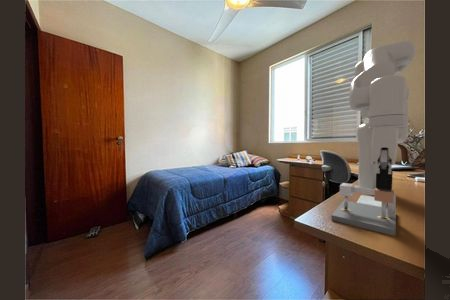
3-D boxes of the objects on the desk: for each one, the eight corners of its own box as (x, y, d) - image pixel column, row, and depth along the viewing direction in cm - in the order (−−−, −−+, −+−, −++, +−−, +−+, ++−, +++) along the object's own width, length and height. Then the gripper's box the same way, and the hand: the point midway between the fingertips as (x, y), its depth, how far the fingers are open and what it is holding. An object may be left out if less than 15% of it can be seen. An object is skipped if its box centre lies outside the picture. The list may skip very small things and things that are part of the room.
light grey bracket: (342, 206, 61) (342, 182, 61) (395, 216, 52) (395, 189, 52) (339, 210, 58) (339, 185, 57) (395, 222, 49) (395, 192, 48)
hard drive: (360, 194, 75) (356, 202, 66) (387, 198, 70) (385, 207, 61) (360, 198, 76) (355, 206, 67) (387, 203, 70) (385, 212, 61)
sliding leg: (374, 213, 54) (375, 167, 53) (393, 216, 51) (394, 169, 51) (374, 216, 52) (375, 169, 51) (393, 220, 49) (394, 170, 48)
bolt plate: (343, 204, 67) (343, 200, 67) (395, 214, 58) (395, 209, 58) (331, 220, 54) (331, 214, 54) (395, 236, 45) (395, 229, 45)
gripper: (371, 125, 59) (370, 179, 60) (365, 122, 46) (363, 190, 47) (403, 124, 54) (402, 182, 55) (406, 119, 41) (404, 195, 42)
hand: (384, 185), depth 51 cm, fingers open, 7 cm apart
